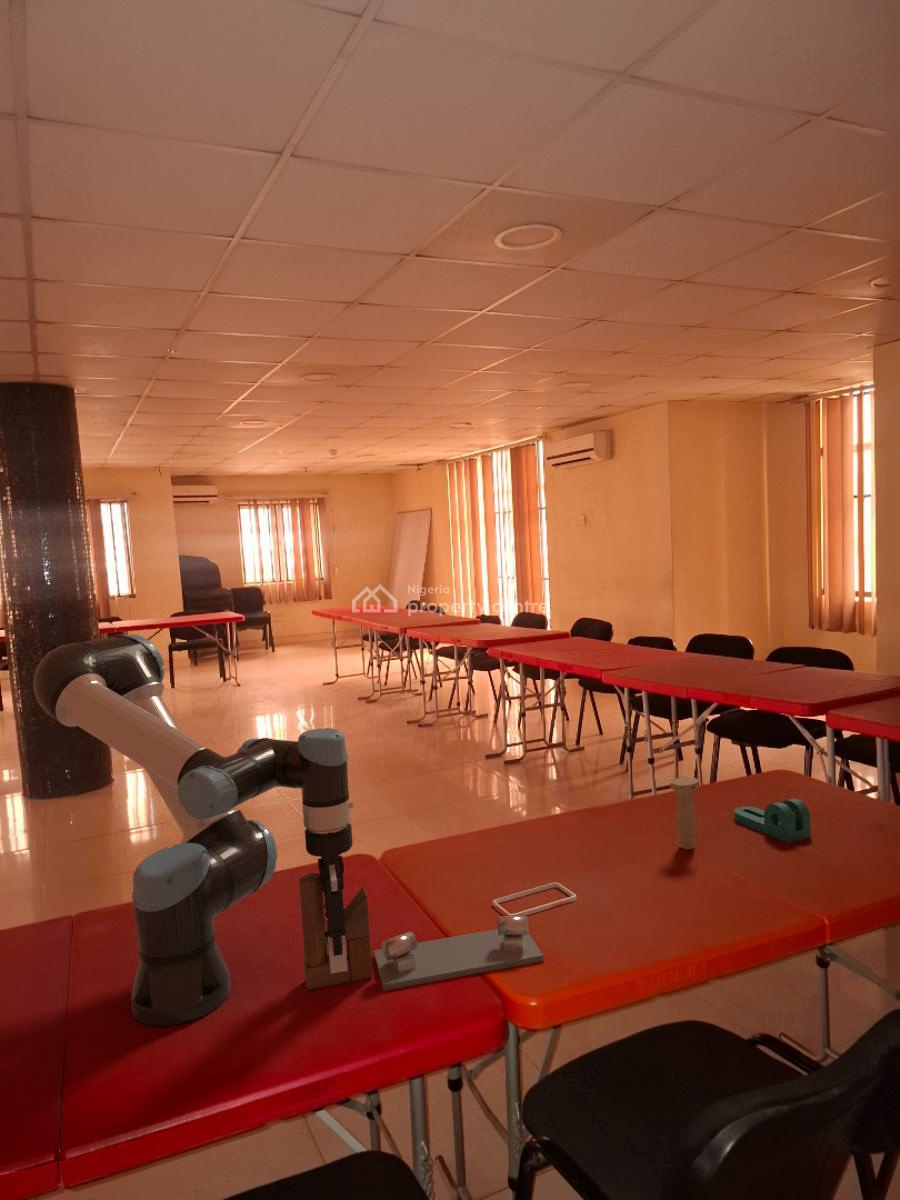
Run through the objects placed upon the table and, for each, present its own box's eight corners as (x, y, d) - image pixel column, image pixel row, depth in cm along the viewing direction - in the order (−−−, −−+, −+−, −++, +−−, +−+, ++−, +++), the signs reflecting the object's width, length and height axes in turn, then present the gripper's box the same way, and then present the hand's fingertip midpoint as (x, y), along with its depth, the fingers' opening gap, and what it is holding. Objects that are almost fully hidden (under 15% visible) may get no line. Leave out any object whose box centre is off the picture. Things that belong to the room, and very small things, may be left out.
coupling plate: (383, 990, 125) (382, 984, 125) (374, 955, 136) (374, 950, 136) (543, 961, 131) (543, 955, 131) (523, 929, 141) (522, 924, 141)
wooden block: (373, 978, 128) (365, 872, 127) (306, 991, 126) (298, 883, 124) (369, 966, 132) (362, 863, 131) (305, 979, 129) (297, 874, 128)
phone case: (556, 887, 158) (491, 906, 152) (556, 881, 158) (491, 900, 152) (577, 902, 152) (510, 922, 145) (577, 895, 152) (510, 915, 145)
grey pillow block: (394, 976, 127) (391, 947, 127) (381, 965, 131) (379, 936, 130) (420, 966, 130) (418, 937, 129) (407, 955, 133) (405, 926, 133)
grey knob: (498, 952, 133) (497, 923, 132) (500, 938, 137) (498, 911, 136) (528, 952, 132) (526, 923, 131) (528, 938, 136) (527, 911, 136)
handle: (705, 847, 173) (703, 780, 172) (685, 854, 170) (682, 786, 168) (689, 840, 177) (686, 775, 176) (668, 847, 174) (665, 781, 173)
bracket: (810, 837, 175) (809, 803, 174) (788, 844, 172) (787, 809, 172) (749, 813, 192) (748, 782, 191) (728, 819, 189) (727, 787, 188)
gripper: (356, 841, 119) (366, 987, 121) (346, 805, 136) (355, 935, 138) (306, 848, 118) (317, 996, 120) (302, 811, 134) (312, 942, 136)
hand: (337, 963), depth 129 cm, fingers closed on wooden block, 4 cm apart
